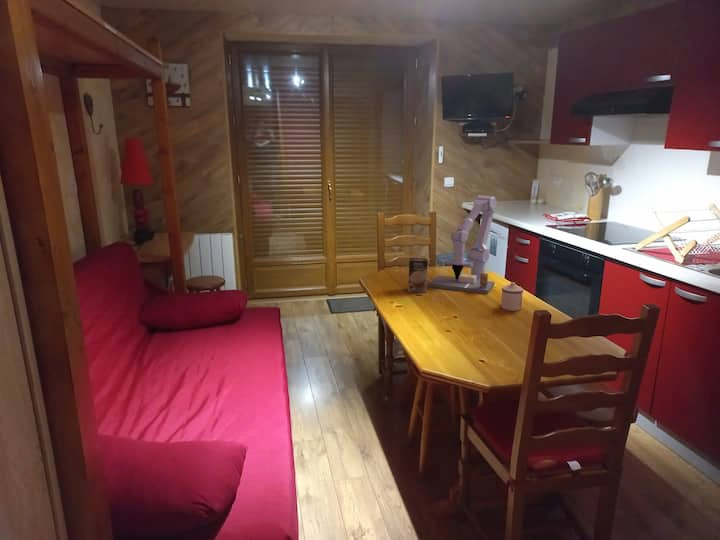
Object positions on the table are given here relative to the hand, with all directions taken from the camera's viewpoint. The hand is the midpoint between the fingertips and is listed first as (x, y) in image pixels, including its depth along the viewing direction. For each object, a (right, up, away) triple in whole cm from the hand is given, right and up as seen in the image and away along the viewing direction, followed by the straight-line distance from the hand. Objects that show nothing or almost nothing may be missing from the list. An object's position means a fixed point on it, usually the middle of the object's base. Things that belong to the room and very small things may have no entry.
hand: (457, 279), depth 254 cm
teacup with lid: (+17, -12, -34) cm, 40 cm away
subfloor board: (+1, -4, -3) cm, 5 cm away
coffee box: (-22, -6, -9) cm, 24 cm away
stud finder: (+5, -1, -2) cm, 5 cm away
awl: (+10, -4, -12) cm, 17 cm away
